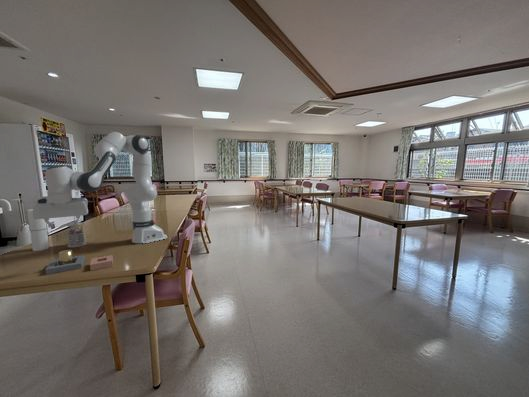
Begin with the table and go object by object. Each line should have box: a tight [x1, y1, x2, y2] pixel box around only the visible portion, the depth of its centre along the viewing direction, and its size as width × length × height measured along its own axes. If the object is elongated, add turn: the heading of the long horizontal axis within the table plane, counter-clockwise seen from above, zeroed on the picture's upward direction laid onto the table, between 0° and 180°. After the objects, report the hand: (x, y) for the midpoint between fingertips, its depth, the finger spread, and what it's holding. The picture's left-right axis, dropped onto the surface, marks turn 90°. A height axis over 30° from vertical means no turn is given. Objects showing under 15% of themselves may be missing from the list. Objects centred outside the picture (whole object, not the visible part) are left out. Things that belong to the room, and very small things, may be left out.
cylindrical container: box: [27, 208, 50, 252], centre depth 135 cm, size 7×7×25 cm
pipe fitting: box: [58, 249, 74, 265], centre depth 111 cm, size 6×6×8 cm
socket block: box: [44, 254, 85, 275], centre depth 112 cm, size 13×13×2 cm
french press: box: [63, 216, 87, 248], centre depth 142 cm, size 10×12×25 cm
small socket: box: [89, 254, 114, 271], centre depth 113 cm, size 9×9×3 cm
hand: (63, 225), depth 110 cm, fingers open, 8 cm apart
